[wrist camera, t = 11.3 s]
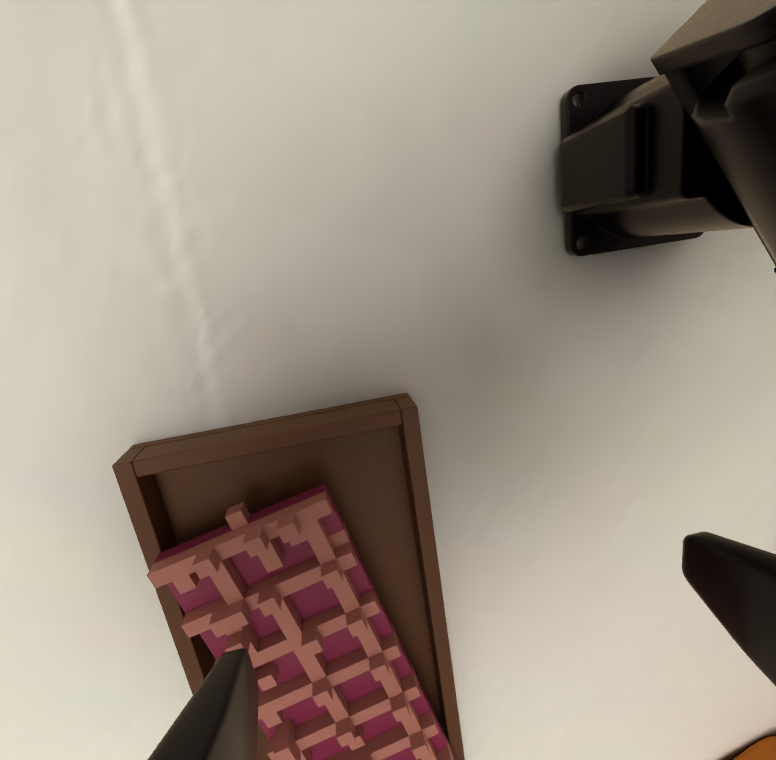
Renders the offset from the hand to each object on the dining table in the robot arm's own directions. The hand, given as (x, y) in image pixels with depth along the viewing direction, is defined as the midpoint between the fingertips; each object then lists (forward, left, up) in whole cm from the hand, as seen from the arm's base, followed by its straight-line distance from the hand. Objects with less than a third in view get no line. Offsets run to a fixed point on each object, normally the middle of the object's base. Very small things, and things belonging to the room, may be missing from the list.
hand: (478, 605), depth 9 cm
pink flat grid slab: (+5, +11, -10) cm, 16 cm away
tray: (+5, +11, -12) cm, 17 cm away
